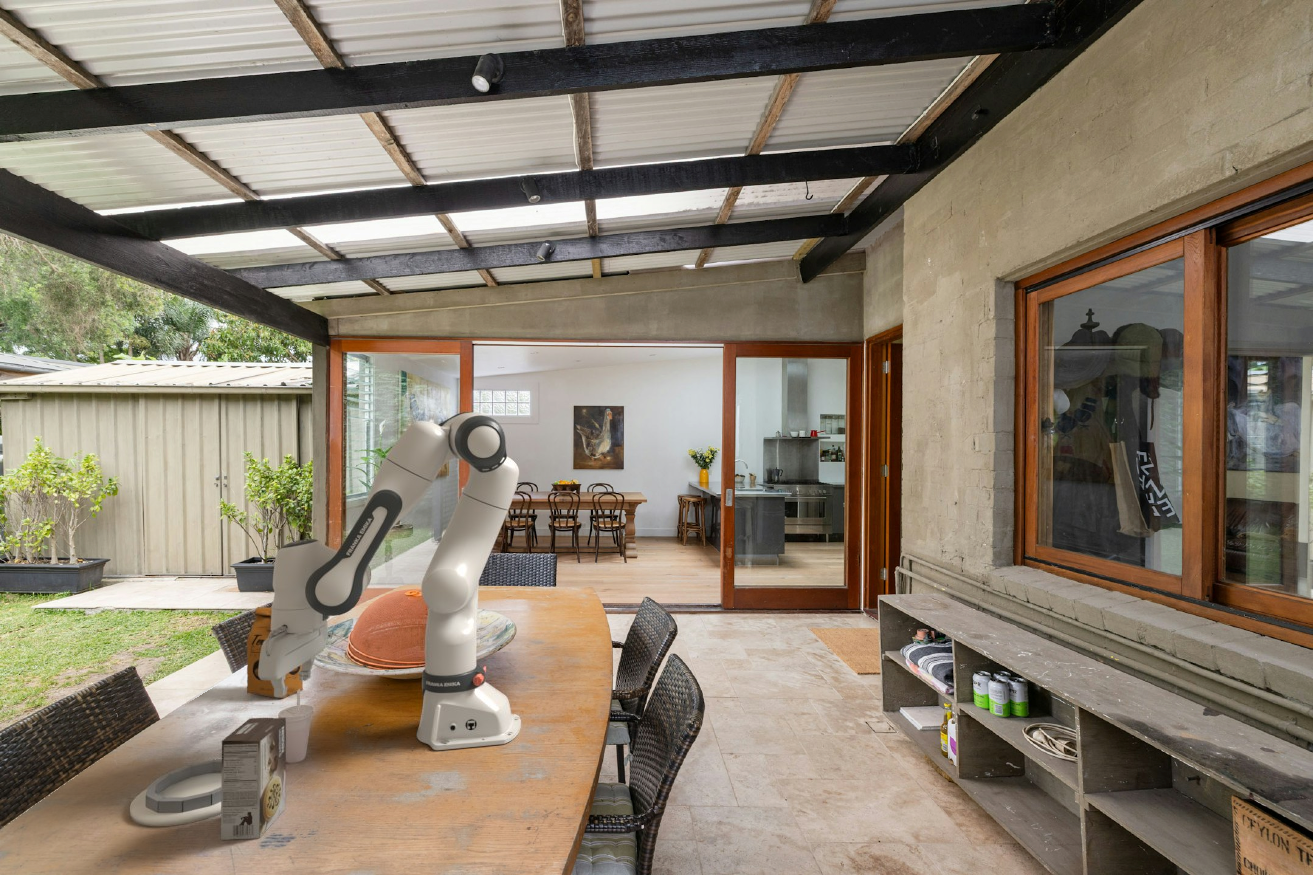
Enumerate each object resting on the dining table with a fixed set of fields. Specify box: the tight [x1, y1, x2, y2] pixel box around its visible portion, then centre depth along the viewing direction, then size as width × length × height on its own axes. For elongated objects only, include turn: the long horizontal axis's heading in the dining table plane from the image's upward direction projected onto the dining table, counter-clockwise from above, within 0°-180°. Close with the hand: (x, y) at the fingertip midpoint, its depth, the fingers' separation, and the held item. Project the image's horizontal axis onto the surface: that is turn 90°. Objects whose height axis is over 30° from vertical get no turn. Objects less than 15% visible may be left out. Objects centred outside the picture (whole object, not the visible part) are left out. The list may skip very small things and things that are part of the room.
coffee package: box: [246, 606, 304, 699], centre depth 171 cm, size 10×12×22 cm
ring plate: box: [129, 758, 222, 828], centre depth 120 cm, size 20×20×3 cm
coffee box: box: [220, 717, 287, 841], centre depth 111 cm, size 9×6×16 cm
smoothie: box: [277, 689, 314, 764], centre depth 134 cm, size 6×6×14 cm
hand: (292, 687), depth 134 cm, fingers open, 8 cm apart
